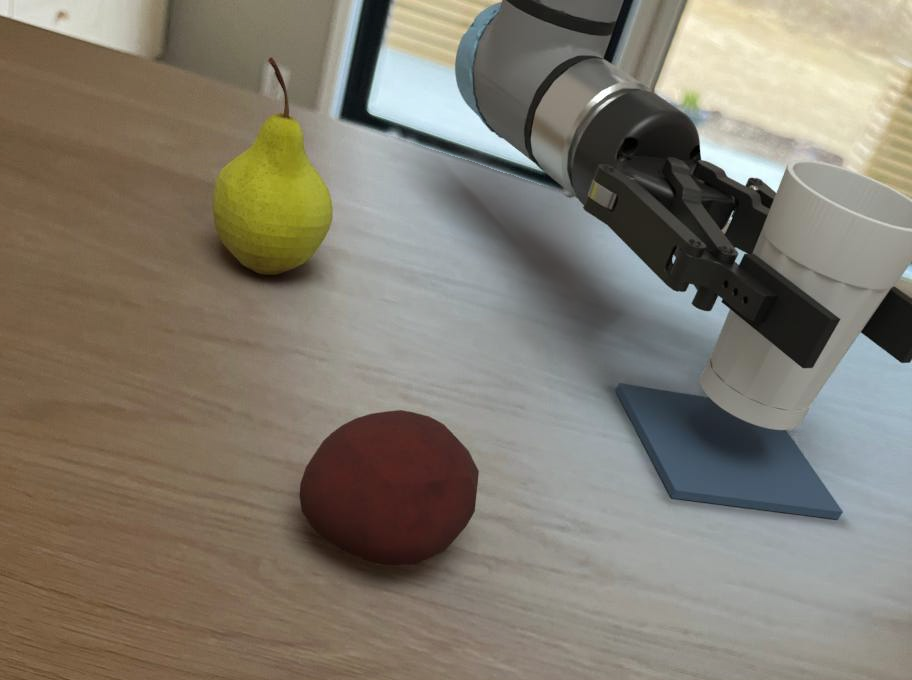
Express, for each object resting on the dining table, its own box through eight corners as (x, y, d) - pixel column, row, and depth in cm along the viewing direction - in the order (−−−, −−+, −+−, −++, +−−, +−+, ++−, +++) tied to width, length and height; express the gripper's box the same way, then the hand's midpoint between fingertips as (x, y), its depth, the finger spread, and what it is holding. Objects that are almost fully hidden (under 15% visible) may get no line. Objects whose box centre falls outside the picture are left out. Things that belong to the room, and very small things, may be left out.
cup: (660, 371, 60) (758, 160, 52) (737, 353, 65) (838, 157, 57) (766, 449, 56) (889, 236, 48) (840, 424, 61) (962, 226, 53)
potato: (491, 584, 48) (534, 478, 44) (327, 607, 44) (358, 493, 40) (421, 486, 52) (455, 381, 48) (266, 499, 48) (288, 385, 44)
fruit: (289, 240, 68) (324, 41, 60) (338, 293, 65) (382, 89, 57) (190, 240, 65) (213, 28, 57) (236, 296, 61) (268, 78, 53)
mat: (766, 414, 68) (770, 407, 68) (838, 519, 61) (843, 511, 60) (615, 390, 65) (618, 382, 65) (671, 498, 58) (675, 489, 57)
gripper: (704, 213, 74) (945, 395, 61) (468, 200, 63) (701, 416, 51) (753, 102, 69) (1027, 275, 56) (506, 68, 58) (774, 271, 46)
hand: (872, 342), depth 53 cm, fingers closed on cup, 7 cm apart
